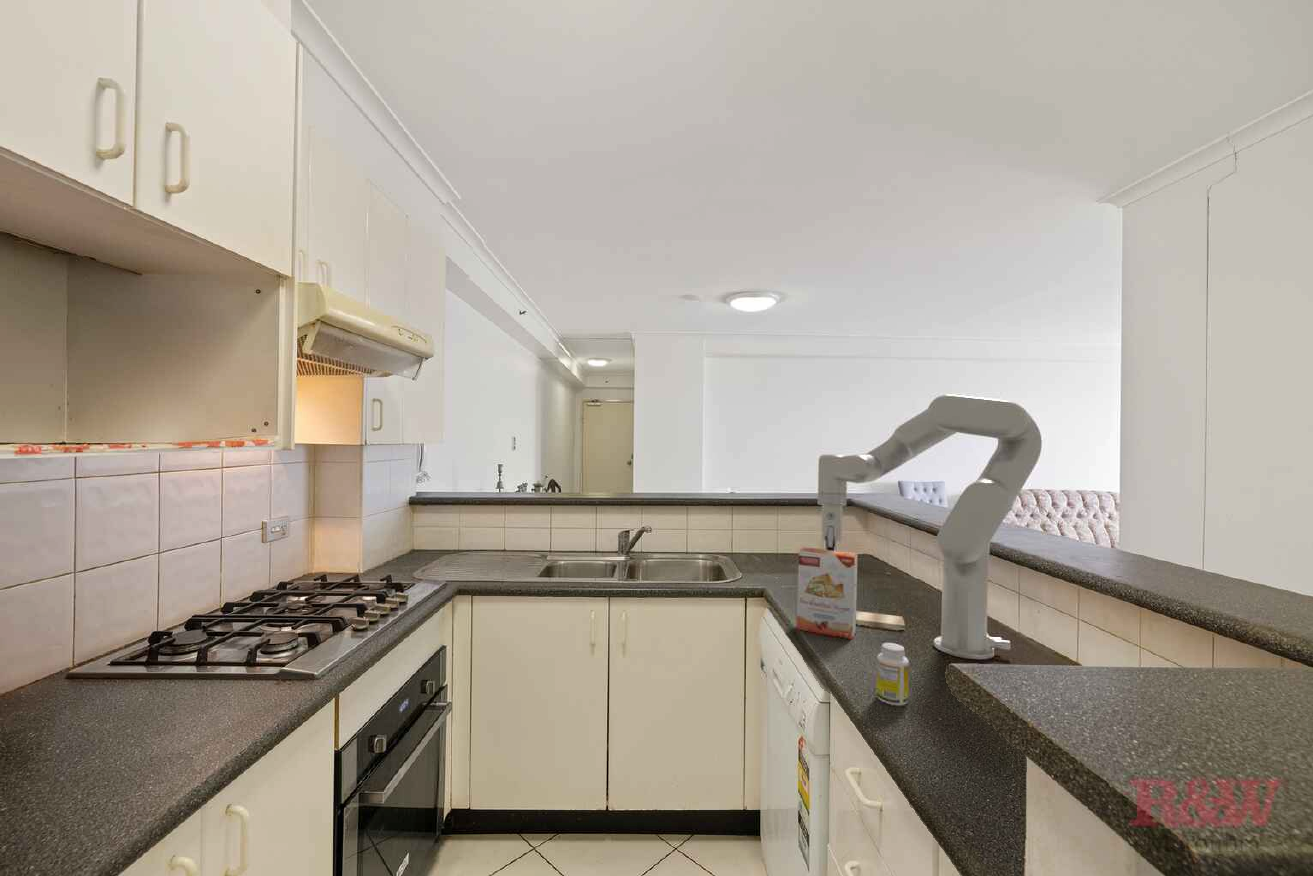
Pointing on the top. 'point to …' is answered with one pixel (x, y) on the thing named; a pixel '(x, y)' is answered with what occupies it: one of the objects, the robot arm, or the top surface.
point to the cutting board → (880, 620)
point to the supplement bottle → (892, 675)
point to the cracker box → (827, 592)
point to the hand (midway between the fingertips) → (830, 566)
